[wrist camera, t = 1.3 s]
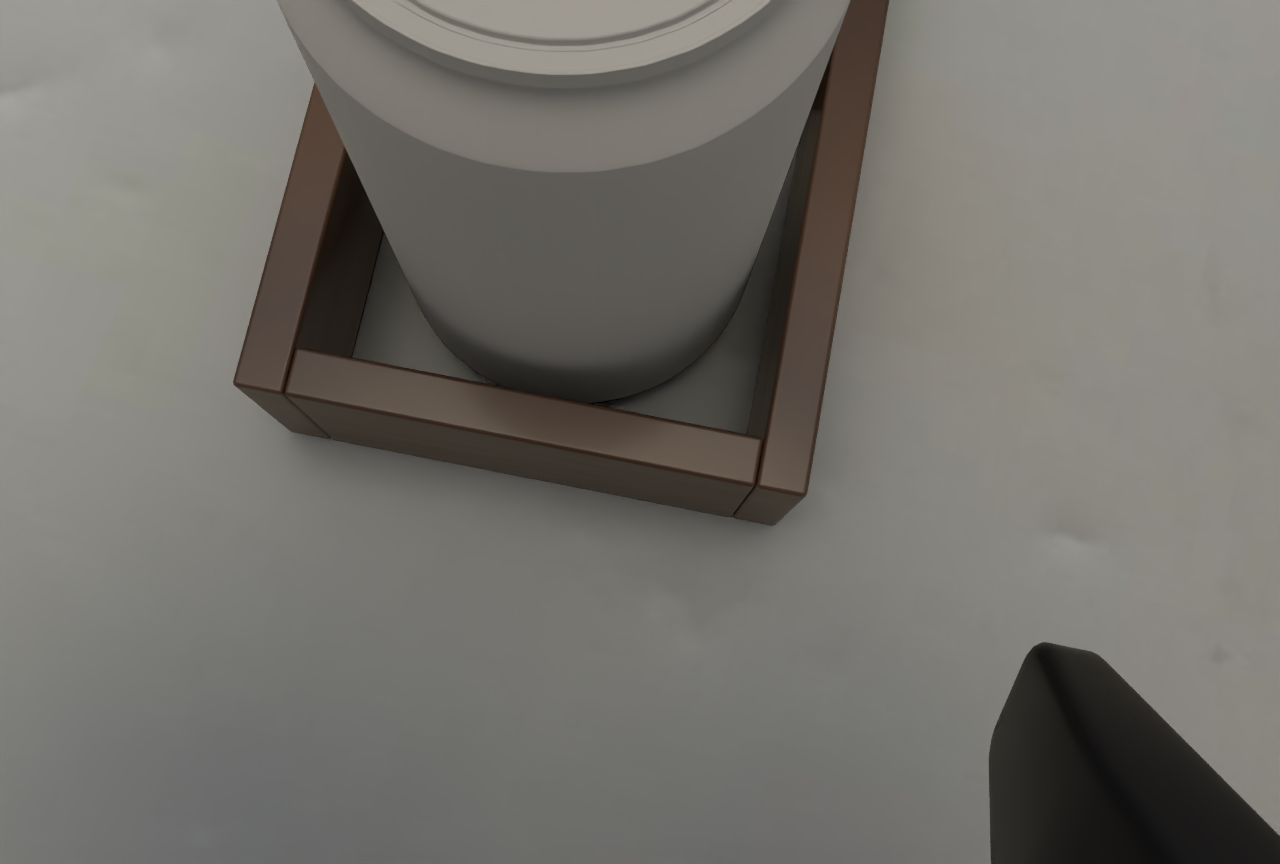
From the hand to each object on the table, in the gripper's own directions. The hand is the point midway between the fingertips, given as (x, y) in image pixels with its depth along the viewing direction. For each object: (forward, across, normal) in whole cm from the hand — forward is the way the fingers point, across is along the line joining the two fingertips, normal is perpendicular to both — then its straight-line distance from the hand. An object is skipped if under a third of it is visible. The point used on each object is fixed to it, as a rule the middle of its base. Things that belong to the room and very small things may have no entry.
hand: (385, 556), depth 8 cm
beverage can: (+15, 0, +4) cm, 15 cm away
